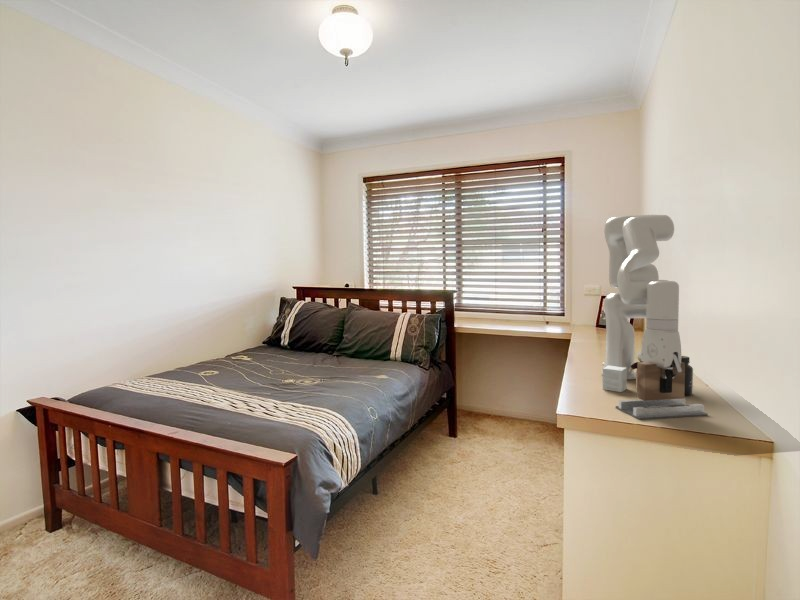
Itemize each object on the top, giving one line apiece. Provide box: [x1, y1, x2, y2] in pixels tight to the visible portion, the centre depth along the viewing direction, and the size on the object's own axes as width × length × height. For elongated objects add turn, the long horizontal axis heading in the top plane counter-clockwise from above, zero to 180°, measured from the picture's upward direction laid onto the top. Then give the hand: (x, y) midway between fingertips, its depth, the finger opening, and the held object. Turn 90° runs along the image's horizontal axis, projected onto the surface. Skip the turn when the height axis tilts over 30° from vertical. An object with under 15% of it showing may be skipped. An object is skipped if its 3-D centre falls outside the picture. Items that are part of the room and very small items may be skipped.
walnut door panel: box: [636, 361, 685, 401], centre depth 114 cm, size 3×12×10 cm, turn 97°
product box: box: [602, 365, 628, 393], centre depth 138 cm, size 6×6×7 cm
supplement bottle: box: [681, 355, 694, 397], centre depth 132 cm, size 7×7×12 cm
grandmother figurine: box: [629, 351, 642, 390], centre depth 138 cm, size 8×4×13 cm, turn 72°
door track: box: [615, 397, 708, 421], centre depth 115 cm, size 10×20×2 cm, turn 97°
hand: (660, 390), depth 114 cm, fingers closed on walnut door panel, 3 cm apart
